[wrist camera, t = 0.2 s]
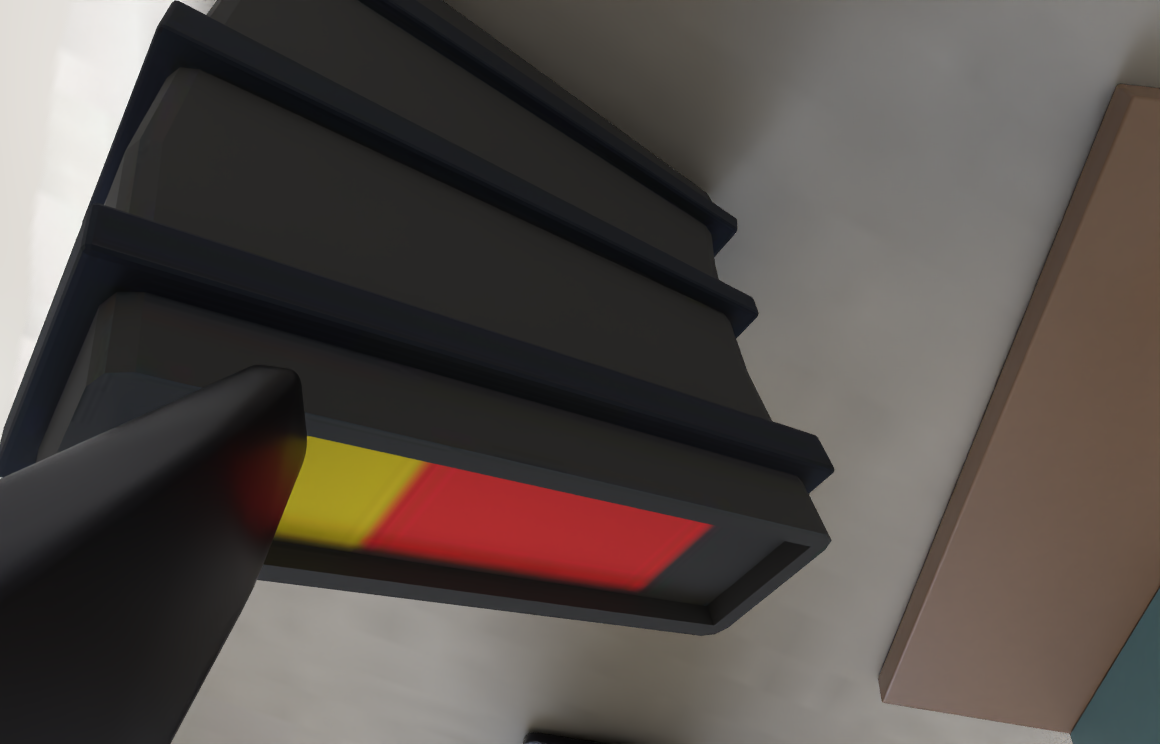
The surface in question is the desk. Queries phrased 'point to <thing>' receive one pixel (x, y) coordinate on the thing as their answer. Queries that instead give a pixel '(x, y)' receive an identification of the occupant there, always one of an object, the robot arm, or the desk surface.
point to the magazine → (432, 320)
